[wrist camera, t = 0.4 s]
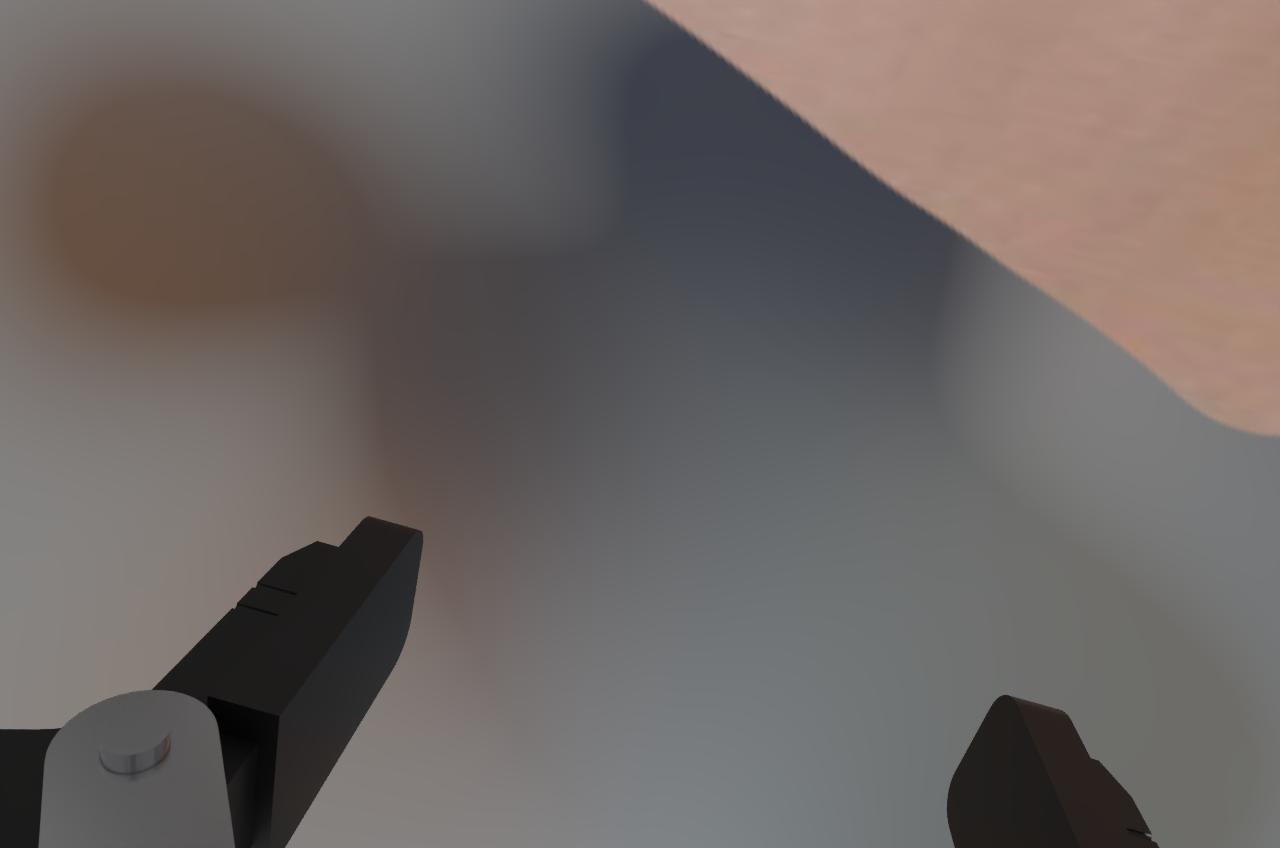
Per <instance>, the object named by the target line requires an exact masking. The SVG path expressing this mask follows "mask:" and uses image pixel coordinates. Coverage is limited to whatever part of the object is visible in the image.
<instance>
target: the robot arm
mask: <svg viewBox="0 0 1280 848" xmlns="http://www.w3.org/2000/svg"><path fill="white" fill-rule="evenodd" d="M422 547H423V533H422V531H420V530H417V529H413V528H410V527H406V526H403V525H399V524H395V523H392V522H388V521H385V520H381V519H377V518H374V517H370V516H368V517H366V518H365V519H363V520H362V521H361V522H360V524H359V525H358V526H357V527H356V528H355V529H354V530H353V531H352V533H351V534H350V535H349V536H348V537H347V538H346V540H345V541H344V542H343V543H342V544H341V545H340V547H336V546H333V545H329V544H326V543H322V542H319V541H317V542H314V543H312V544H310V545H308V546H306V547H304V548H301V549H300V550H297V551H295V552H293V553H291V554H289V555H287V556H285V557H282V558H281V559H280V560H279V561H278V562H277V563H276V564H275V565H274V566H273V567H272V568H271V569H270V570H269V571H268V572H267V573H266V574H265V575H264V576H263V577H262V578H261V579H260V580H259V581H258V582H257V586H256V588H251V589H250V591H248V593H247V594H246V595H245V596H244V597H243V598H242V599H241V600H240V601H239V602H238V603H237V606H236V608H235V609H233V608H232V609H231V610H230V611H229V612H228V613H227V614H226V615H225V616H224V617H223V618H222V619H221V620H220V621H219V622H218V623H217V624H216V625H215V626H214V627H213V628H212V629H211V630H210V631H209V632H208V633H207V634H206V635H205V636H204V637H203V638H202V639H201V640H200V641H199V643H197V644H196V645H195V646H194V648H192V650H190V652H189V653H188V654H187V655H186V656H185V657H184V658H183V659H182V660H181V661H180V662H179V663H178V664H177V665H176V666H175V667H174V668H173V669H172V670H171V671H170V672H169V673H168V674H167V675H166V676H165V677H164V678H163V679H162V680H161V681H160V682H159V683H158V684H157V685H156V686H155V687H154V688H153V689H152V690H144V691H136V692H130V693H126V694H121V695H118V696H114V697H111V698H108V699H105V700H103V701H101V702H99V703H97V704H94V705H92V706H90V707H89V708H87V709H85V710H84V711H82V712H80V713H79V714H77V715H76V716H75V717H73V718H72V719H71V720H69V721H68V722H67V723H66V724H65V725H64V726H63V727H62V728H58V729H40V730H27V729H19V730H17V729H0V848H285V846H286V845H287V843H288V842H289V840H290V839H291V837H292V835H293V833H294V832H295V830H296V828H297V827H298V825H299V824H300V822H301V820H302V819H303V817H304V815H305V813H306V812H307V810H308V809H309V807H310V805H311V804H312V802H313V800H314V799H315V797H316V796H317V794H318V792H319V791H320V789H321V787H322V786H323V784H324V782H325V781H326V779H327V777H328V776H329V774H330V772H331V771H332V769H333V767H334V766H335V764H336V762H337V761H338V759H339V757H340V756H341V754H342V753H343V751H344V749H345V748H346V746H347V744H348V742H349V741H350V739H351V737H352V736H353V734H354V733H355V731H356V729H357V728H358V726H359V724H360V723H361V721H362V719H363V718H364V716H365V714H366V713H367V711H368V709H369V708H370V706H371V705H372V703H373V701H374V699H375V698H376V696H377V694H378V693H379V691H380V690H381V688H382V686H383V685H384V683H385V681H386V680H387V678H388V677H389V675H390V673H391V672H392V670H393V668H394V666H395V665H396V662H397V661H398V658H399V656H400V654H401V652H402V649H403V646H404V644H405V641H406V638H407V635H408V631H409V627H410V623H411V617H412V610H413V604H414V598H415V592H416V585H417V579H418V572H419V566H420V560H421V553H422ZM947 818H948V824H949V828H950V832H951V835H952V839H953V843H954V846H955V848H1159V847H1158V845H1157V843H1156V842H1153V841H1151V836H1152V834H1151V832H1150V830H1149V828H1148V826H1147V825H1146V823H1145V821H1144V819H1143V817H1142V815H1141V813H1140V812H1139V810H1138V808H1137V806H1136V804H1135V802H1134V800H1133V799H1132V797H1131V796H1130V795H1129V794H1128V793H1127V791H1126V790H1125V789H1124V788H1123V787H1122V786H1121V785H1120V784H1119V783H1118V781H1117V780H1116V779H1115V778H1114V777H1113V776H1112V775H1111V774H1110V773H1109V771H1108V770H1107V769H1106V768H1105V767H1104V766H1103V765H1102V764H1101V763H1100V762H1099V761H1098V760H1095V759H1091V758H1090V756H1089V754H1088V752H1087V750H1086V748H1085V746H1084V744H1083V743H1082V741H1081V739H1080V737H1079V735H1078V733H1077V731H1076V729H1075V727H1074V725H1073V723H1072V721H1071V719H1070V718H1069V716H1068V715H1067V714H1066V713H1065V712H1063V711H1062V710H1059V709H1055V708H1052V707H1048V706H1044V705H1041V704H1037V703H1034V702H1030V701H1027V700H1023V699H1019V698H1016V697H1012V696H1009V695H1003V696H1000V697H999V698H997V699H996V701H995V702H994V703H993V704H992V706H991V708H990V710H989V711H988V713H987V715H986V717H985V718H984V720H983V722H982V724H981V726H980V728H979V730H978V731H977V733H976V735H975V737H974V738H973V740H972V742H971V744H970V746H969V748H968V749H967V751H966V753H965V755H964V757H963V759H962V760H961V762H960V764H959V766H958V768H957V770H956V771H955V773H954V775H953V778H952V780H951V783H950V787H949V792H948V799H947Z"/></svg>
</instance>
